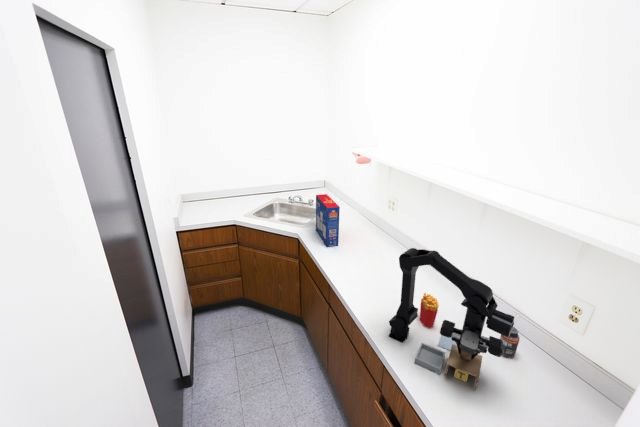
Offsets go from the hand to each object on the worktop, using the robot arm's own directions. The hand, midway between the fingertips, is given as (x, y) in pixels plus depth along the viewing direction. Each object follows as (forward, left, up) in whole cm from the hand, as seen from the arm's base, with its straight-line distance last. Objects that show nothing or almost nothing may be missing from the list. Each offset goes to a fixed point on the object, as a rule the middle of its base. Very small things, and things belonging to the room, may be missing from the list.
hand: (465, 355), depth 103 cm
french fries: (-17, +19, -8) cm, 27 cm away
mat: (-3, +15, -8) cm, 17 cm away
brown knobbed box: (0, -1, -7) cm, 7 cm away
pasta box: (-98, +68, -8) cm, 120 cm away
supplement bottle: (+13, +19, -8) cm, 24 cm away
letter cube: (0, -2, -8) cm, 8 cm away
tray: (-11, -1, -8) cm, 14 cm away
